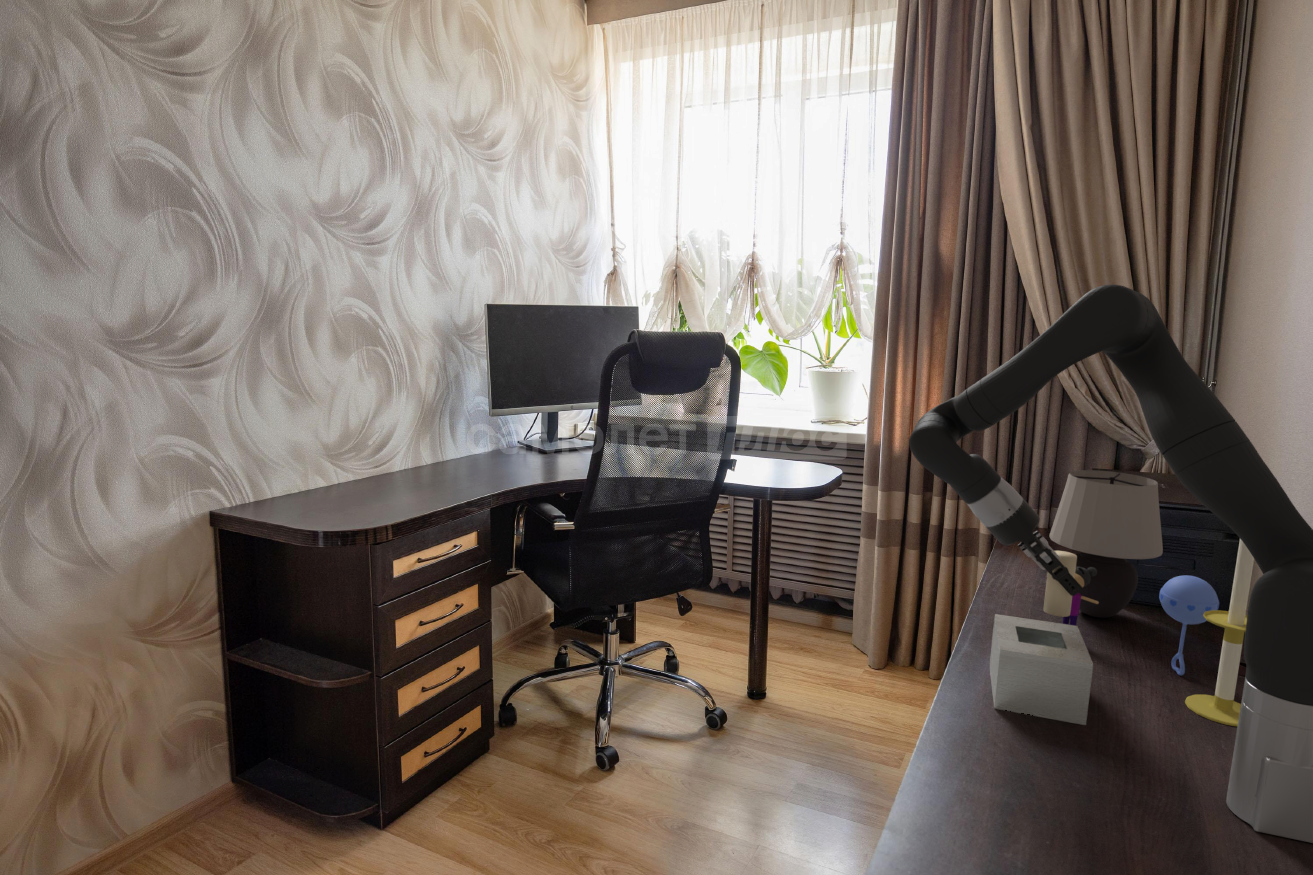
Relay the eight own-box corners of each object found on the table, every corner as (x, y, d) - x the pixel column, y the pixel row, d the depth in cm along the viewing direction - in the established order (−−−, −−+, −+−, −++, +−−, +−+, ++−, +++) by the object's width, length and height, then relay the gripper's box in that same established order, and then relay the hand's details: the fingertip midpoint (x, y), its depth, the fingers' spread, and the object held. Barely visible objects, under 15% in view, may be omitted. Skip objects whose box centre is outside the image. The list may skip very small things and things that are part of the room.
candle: (1205, 723, 121) (1236, 521, 116) (1172, 693, 131) (1199, 505, 126) (1276, 730, 120) (1309, 525, 114) (1237, 698, 129) (1267, 509, 124)
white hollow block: (1085, 725, 119) (1093, 664, 118) (994, 708, 124) (1000, 649, 122) (1070, 680, 134) (1077, 625, 133) (989, 667, 139) (994, 613, 137)
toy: (1037, 631, 155) (1045, 559, 153) (1055, 627, 158) (1063, 556, 155) (1086, 652, 146) (1095, 575, 144) (1104, 647, 149) (1114, 572, 146)
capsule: (1071, 618, 127) (1078, 559, 125) (1044, 614, 128) (1051, 555, 127) (1068, 609, 131) (1075, 552, 129) (1042, 605, 132) (1048, 549, 131)
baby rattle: (1217, 687, 133) (1232, 587, 130) (1161, 681, 135) (1175, 582, 132) (1194, 665, 142) (1207, 571, 139) (1141, 660, 143) (1154, 566, 140)
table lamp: (1171, 638, 153) (1192, 490, 149) (1059, 628, 157) (1076, 483, 152) (1128, 601, 174) (1145, 470, 169) (1029, 593, 177) (1043, 464, 172)
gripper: (1032, 506, 121) (1107, 588, 121) (1010, 486, 135) (1078, 560, 134) (992, 536, 123) (1067, 617, 122) (975, 514, 137) (1041, 586, 136)
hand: (1072, 586), depth 128 cm, fingers closed on capsule, 4 cm apart
